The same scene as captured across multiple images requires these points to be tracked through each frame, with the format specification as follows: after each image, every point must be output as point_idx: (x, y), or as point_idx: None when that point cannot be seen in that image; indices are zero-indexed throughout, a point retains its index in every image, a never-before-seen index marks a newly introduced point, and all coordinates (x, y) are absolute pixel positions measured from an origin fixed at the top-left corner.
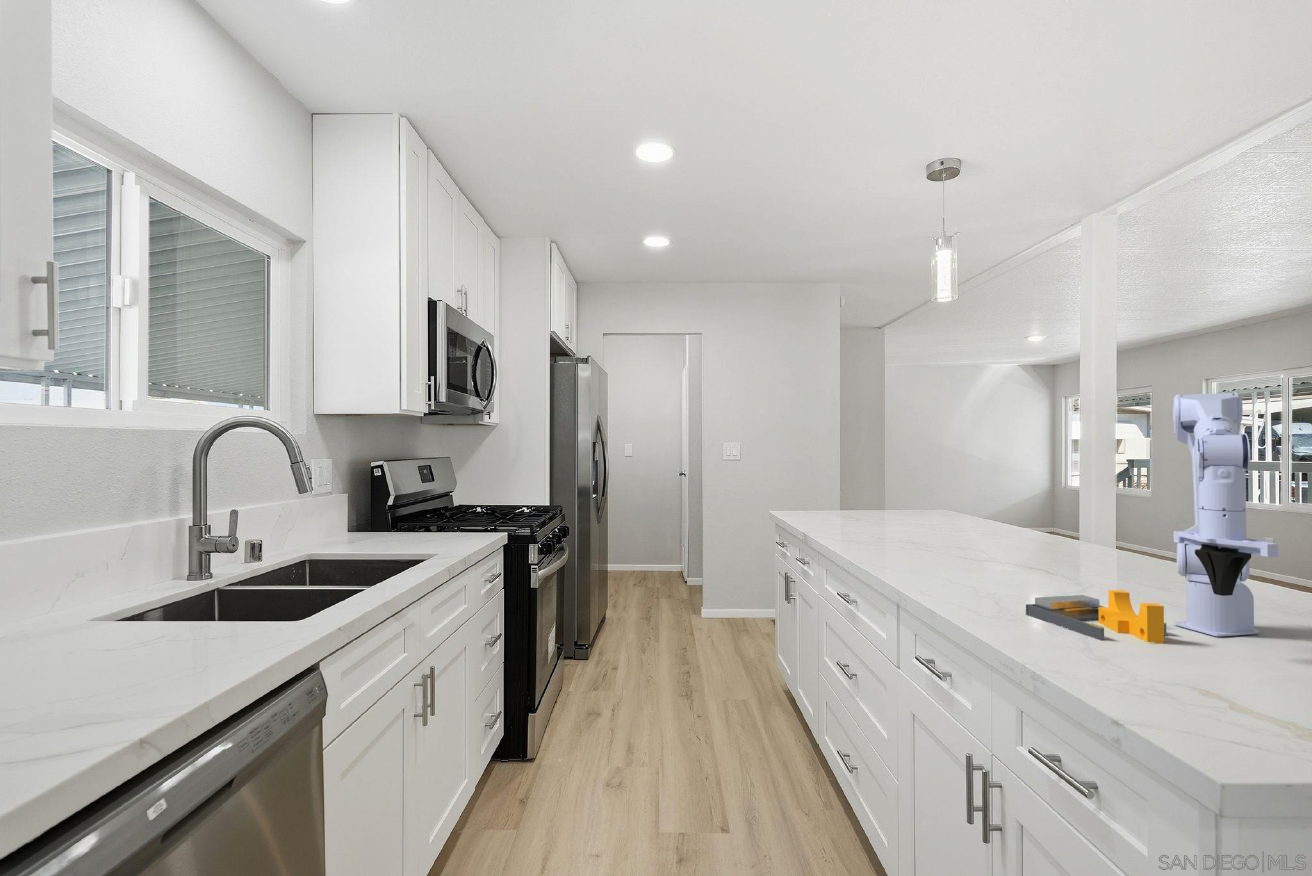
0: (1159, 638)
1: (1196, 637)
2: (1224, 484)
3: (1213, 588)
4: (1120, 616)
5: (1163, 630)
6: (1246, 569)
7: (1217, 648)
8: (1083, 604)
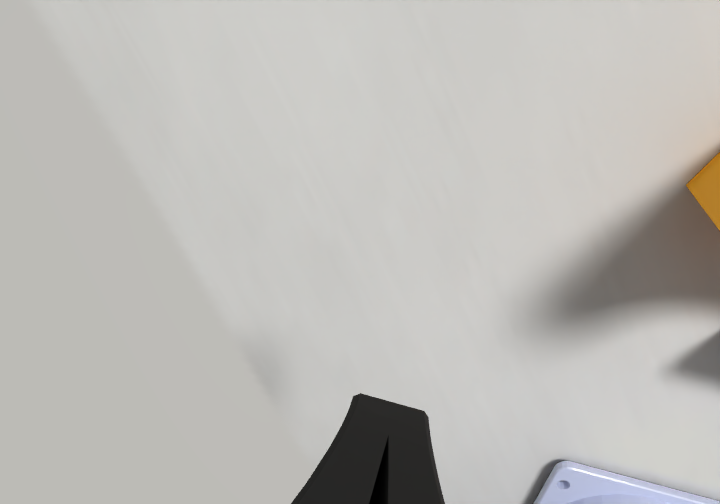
0: (714, 177)
1: (617, 403)
2: None
3: (417, 438)
4: None
5: (712, 215)
6: None
7: (490, 306)
8: None
